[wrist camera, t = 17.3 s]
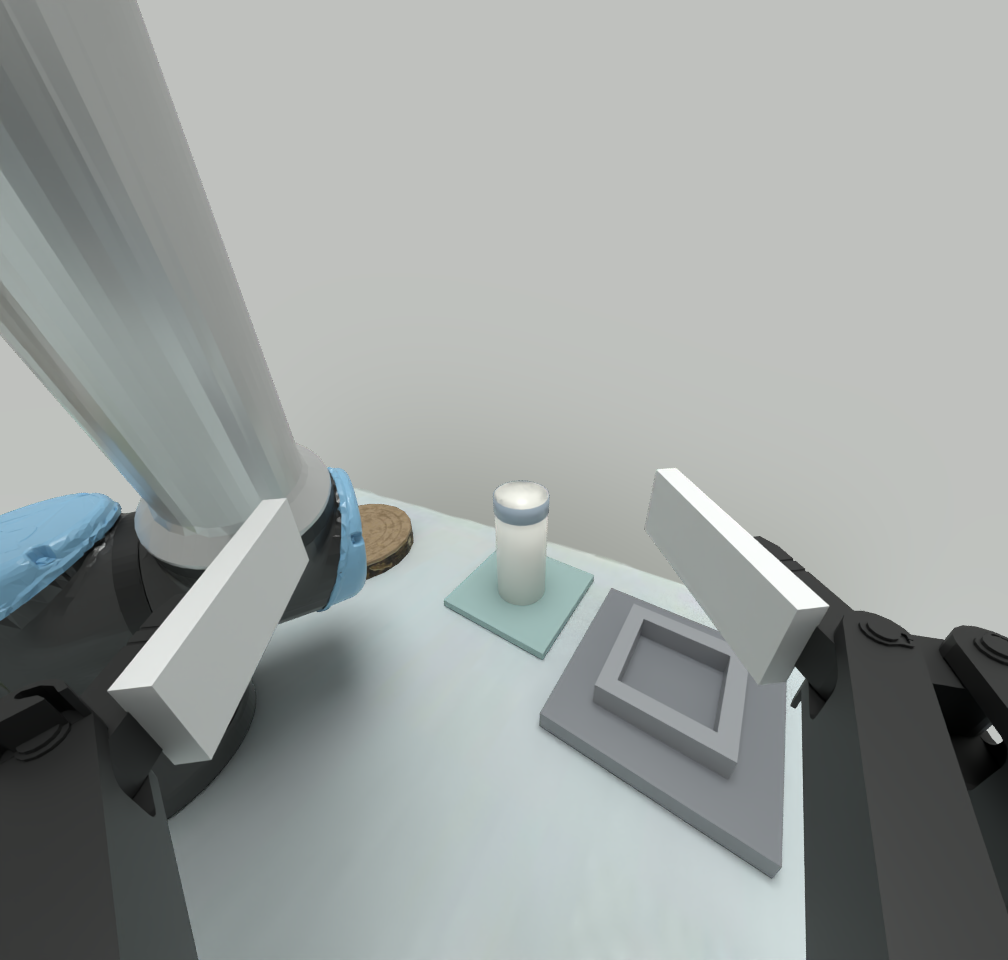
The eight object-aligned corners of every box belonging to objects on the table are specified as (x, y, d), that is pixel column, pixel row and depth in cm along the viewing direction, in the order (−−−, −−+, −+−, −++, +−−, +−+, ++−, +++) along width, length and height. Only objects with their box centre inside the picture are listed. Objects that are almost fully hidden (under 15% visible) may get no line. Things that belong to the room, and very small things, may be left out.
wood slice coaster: (366, 509, 68) (362, 495, 67) (434, 535, 61) (432, 519, 59) (282, 561, 56) (276, 545, 55) (355, 601, 49) (350, 584, 48)
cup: (487, 592, 48) (481, 498, 41) (514, 564, 52) (513, 475, 45) (529, 614, 45) (530, 516, 38) (554, 582, 49) (559, 489, 42)
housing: (539, 725, 35) (540, 696, 32) (609, 599, 48) (613, 572, 45) (772, 878, 26) (794, 851, 23) (780, 671, 38) (795, 642, 36)
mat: (444, 605, 47) (443, 599, 47) (506, 545, 57) (506, 540, 57) (542, 660, 40) (542, 653, 40) (593, 580, 50) (594, 575, 50)
